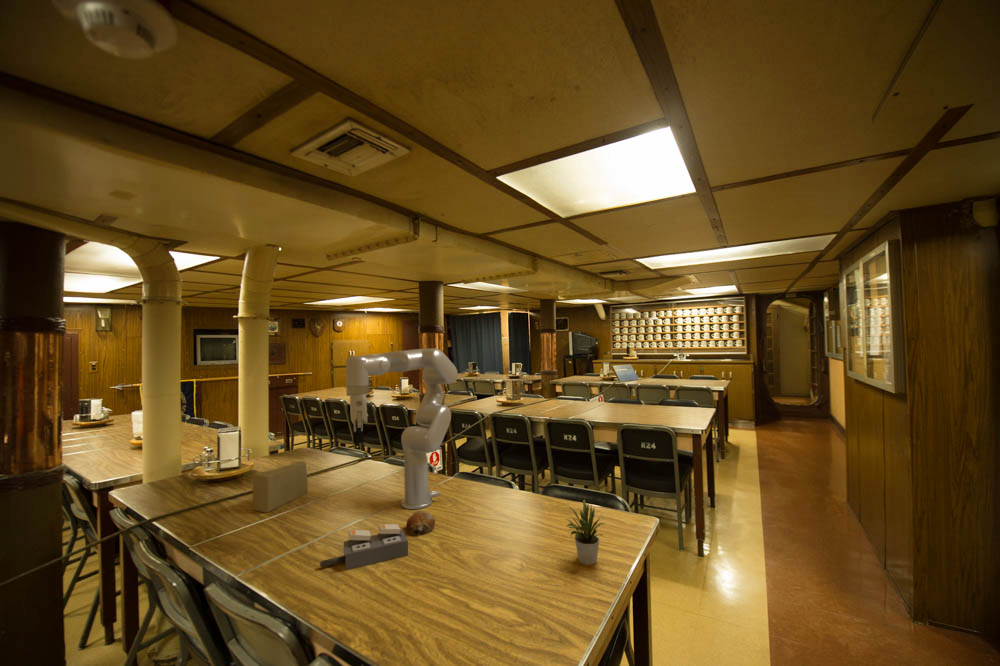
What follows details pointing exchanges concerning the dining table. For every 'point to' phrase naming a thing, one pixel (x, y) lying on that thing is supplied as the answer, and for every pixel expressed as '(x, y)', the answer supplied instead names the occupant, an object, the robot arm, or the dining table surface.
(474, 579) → the dining table surface
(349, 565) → the power strip
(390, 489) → the dining table surface
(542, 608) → the dining table surface
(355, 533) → the block
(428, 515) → the brown round lump
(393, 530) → the rocker
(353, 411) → the robot arm
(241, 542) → the dining table surface
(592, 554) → the house plant
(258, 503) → the beige slab
